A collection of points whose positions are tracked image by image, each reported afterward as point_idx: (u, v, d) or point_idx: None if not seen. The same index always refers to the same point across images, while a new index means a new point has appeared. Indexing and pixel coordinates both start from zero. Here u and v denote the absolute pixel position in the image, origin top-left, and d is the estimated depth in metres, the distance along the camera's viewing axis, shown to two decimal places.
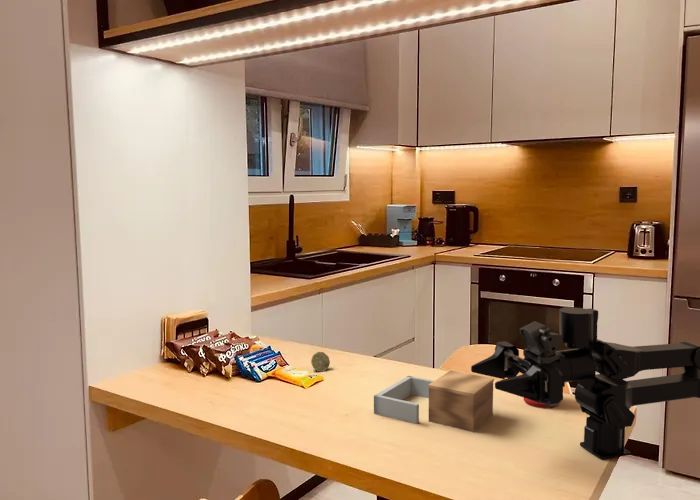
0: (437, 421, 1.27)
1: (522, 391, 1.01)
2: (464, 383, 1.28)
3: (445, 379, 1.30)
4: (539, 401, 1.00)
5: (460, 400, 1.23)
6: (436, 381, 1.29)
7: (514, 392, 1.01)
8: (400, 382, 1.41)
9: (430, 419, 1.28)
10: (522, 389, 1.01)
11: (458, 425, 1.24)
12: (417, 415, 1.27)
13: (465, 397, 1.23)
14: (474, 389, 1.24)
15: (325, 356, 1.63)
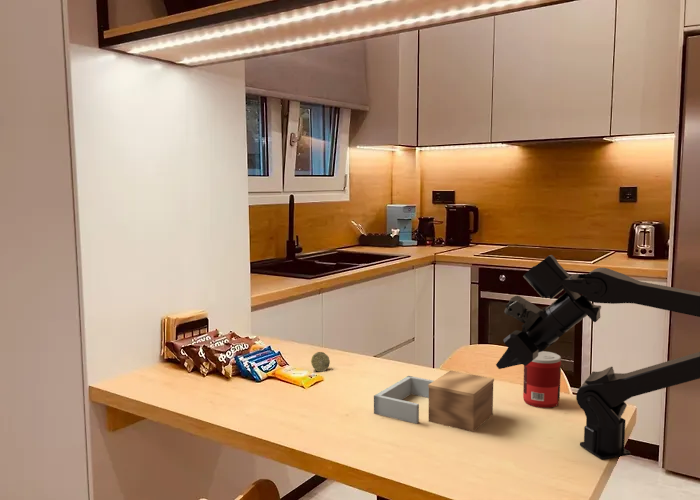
0: (437, 421, 1.27)
1: (514, 360, 1.17)
2: (464, 383, 1.28)
3: (445, 379, 1.30)
4: None
5: (460, 400, 1.23)
6: (436, 381, 1.29)
7: (510, 364, 1.18)
8: (400, 382, 1.41)
9: (430, 419, 1.28)
10: (513, 359, 1.17)
11: (458, 425, 1.24)
12: (417, 415, 1.27)
13: (465, 397, 1.23)
14: (474, 389, 1.24)
15: (325, 356, 1.63)
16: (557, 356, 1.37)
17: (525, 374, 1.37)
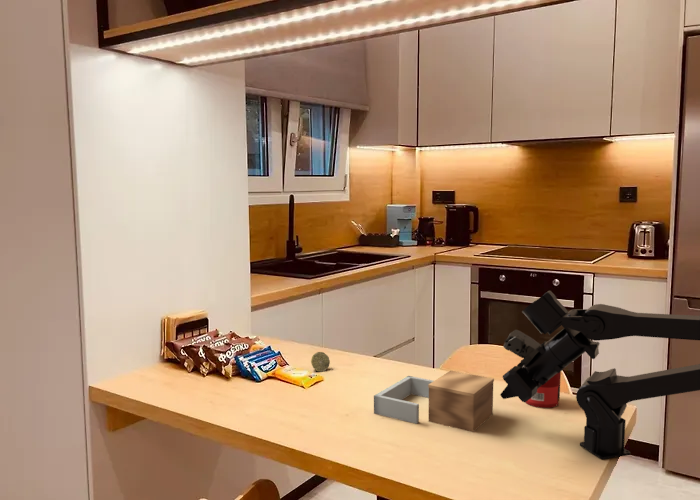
0: (437, 421, 1.27)
1: None
2: (464, 383, 1.28)
3: (445, 379, 1.30)
4: None
5: (460, 400, 1.23)
6: (436, 381, 1.29)
7: (514, 395, 1.21)
8: (400, 382, 1.41)
9: (430, 419, 1.28)
10: None
11: (458, 425, 1.24)
12: (417, 415, 1.27)
13: (465, 397, 1.23)
14: (474, 389, 1.24)
15: (325, 356, 1.63)
16: None
17: None
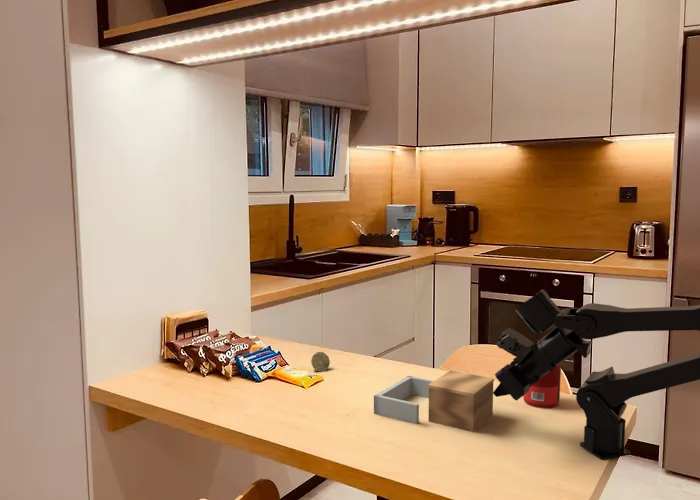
0: (437, 421, 1.27)
1: None
2: (464, 383, 1.28)
3: (445, 379, 1.30)
4: None
5: (460, 400, 1.23)
6: (436, 381, 1.29)
7: (507, 393, 1.22)
8: (400, 382, 1.41)
9: (430, 419, 1.28)
10: None
11: (458, 425, 1.24)
12: (417, 415, 1.27)
13: (465, 397, 1.23)
14: (474, 389, 1.24)
15: (325, 356, 1.63)
16: None
17: None
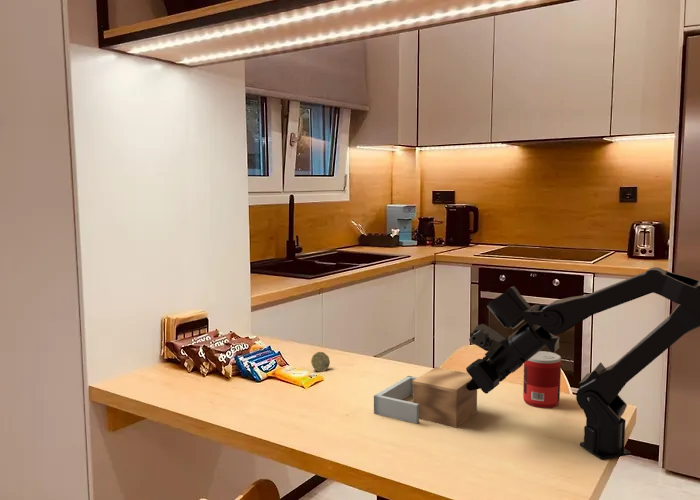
0: (421, 416, 1.29)
1: None
2: (448, 379, 1.30)
3: (429, 375, 1.33)
4: None
5: (443, 396, 1.26)
6: (421, 377, 1.31)
7: (479, 387, 1.25)
8: (400, 382, 1.41)
9: None
10: None
11: (441, 420, 1.26)
12: (417, 415, 1.27)
13: (448, 393, 1.25)
14: (457, 385, 1.26)
15: (325, 356, 1.63)
16: (557, 356, 1.37)
17: (525, 374, 1.37)
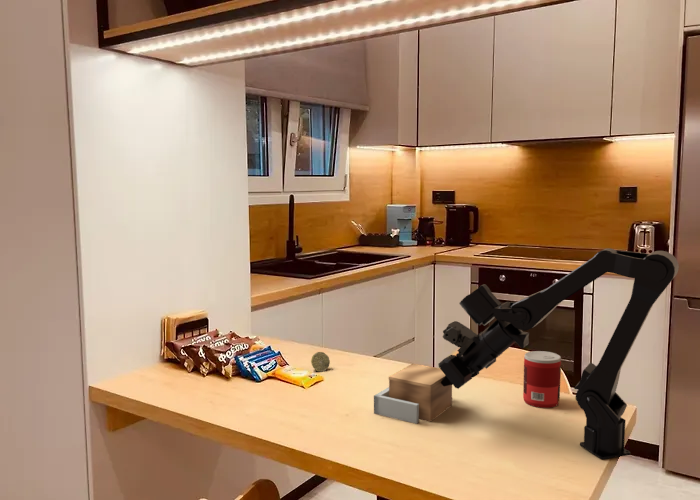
0: None
1: None
2: (423, 375, 1.33)
3: (405, 371, 1.36)
4: None
5: (418, 391, 1.29)
6: (397, 373, 1.34)
7: None
8: None
9: None
10: None
11: None
12: (417, 415, 1.27)
13: (422, 388, 1.28)
14: (432, 381, 1.29)
15: (325, 356, 1.63)
16: (557, 356, 1.37)
17: (525, 374, 1.37)
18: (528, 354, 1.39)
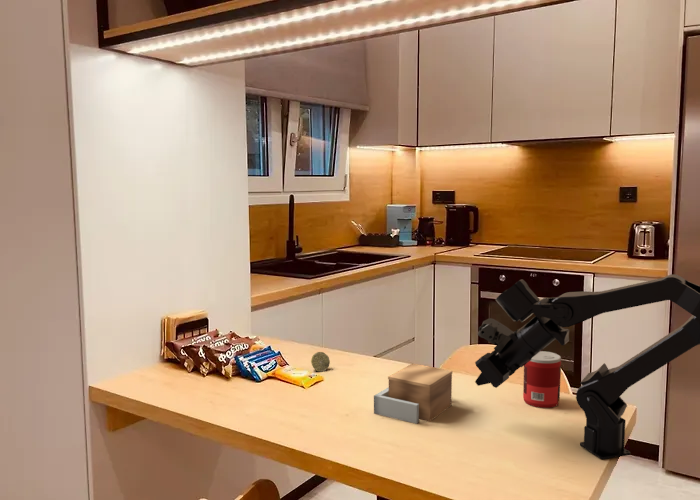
0: None
1: None
2: (423, 375, 1.33)
3: (405, 371, 1.36)
4: None
5: (417, 391, 1.29)
6: (396, 373, 1.35)
7: (488, 381, 1.24)
8: None
9: None
10: None
11: None
12: (417, 415, 1.27)
13: (422, 388, 1.28)
14: (431, 381, 1.29)
15: (325, 356, 1.63)
16: (557, 356, 1.37)
17: (525, 374, 1.37)
18: None
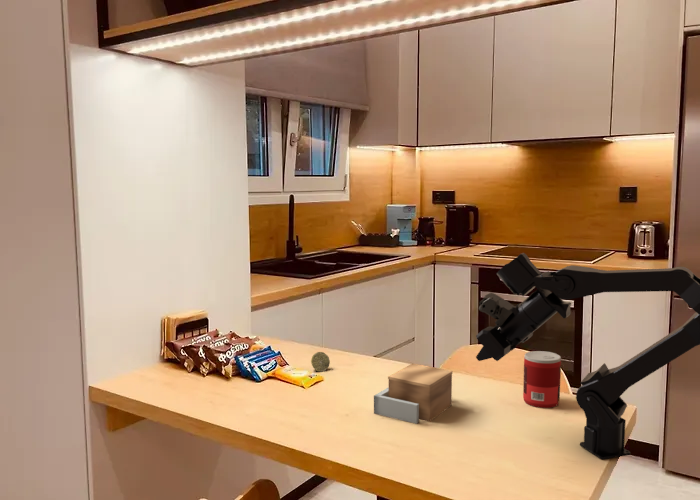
0: None
1: None
2: (423, 375, 1.33)
3: (405, 371, 1.36)
4: None
5: (417, 391, 1.29)
6: (396, 373, 1.35)
7: (489, 356, 1.24)
8: None
9: None
10: None
11: None
12: (417, 415, 1.27)
13: (421, 388, 1.28)
14: (431, 381, 1.29)
15: (325, 356, 1.63)
16: (557, 356, 1.37)
17: (525, 374, 1.37)
18: (528, 354, 1.39)
